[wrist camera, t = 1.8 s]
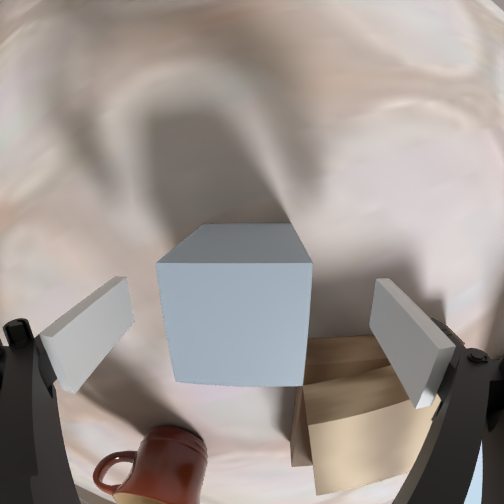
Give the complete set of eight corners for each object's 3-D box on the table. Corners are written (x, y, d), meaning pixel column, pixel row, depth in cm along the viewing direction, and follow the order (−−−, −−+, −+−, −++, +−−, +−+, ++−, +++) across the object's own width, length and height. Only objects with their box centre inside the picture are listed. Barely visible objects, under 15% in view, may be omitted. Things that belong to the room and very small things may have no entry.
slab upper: (312, 464, 22) (316, 495, 18) (302, 385, 19) (308, 425, 15) (423, 433, 20) (436, 460, 17) (446, 346, 17) (471, 374, 14)
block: (208, 303, 21) (175, 381, 12) (203, 223, 19) (155, 263, 11) (289, 304, 21) (302, 385, 12) (291, 223, 19) (312, 263, 10)
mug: (214, 424, 25) (197, 508, 15) (217, 464, 27) (206, 532, 17) (109, 403, 25) (70, 469, 15) (127, 446, 27) (101, 504, 17)
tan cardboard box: (289, 438, 26) (291, 466, 22) (299, 335, 22) (305, 364, 18) (405, 422, 25) (416, 445, 21) (442, 322, 21) (464, 343, 17)
